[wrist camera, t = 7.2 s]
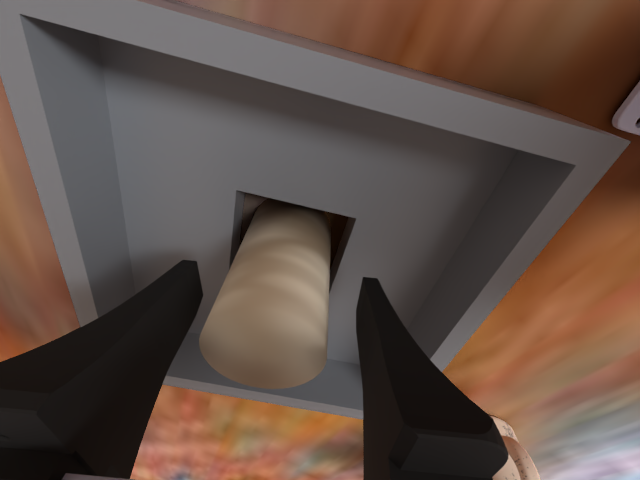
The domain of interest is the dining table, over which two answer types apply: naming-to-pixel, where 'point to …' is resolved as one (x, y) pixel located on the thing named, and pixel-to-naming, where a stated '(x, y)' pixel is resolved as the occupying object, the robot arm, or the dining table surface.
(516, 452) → the teacup with lid
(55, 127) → the box
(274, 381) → the peg
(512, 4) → the dining table surface
